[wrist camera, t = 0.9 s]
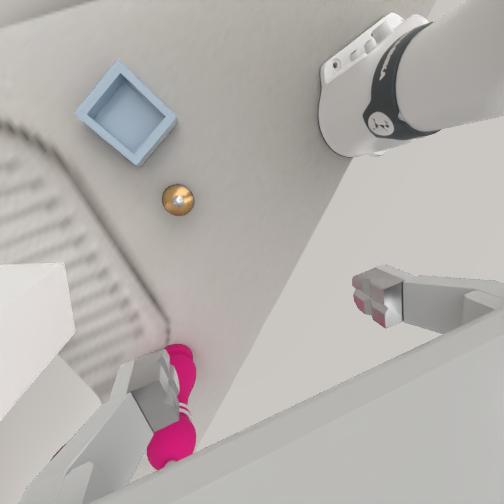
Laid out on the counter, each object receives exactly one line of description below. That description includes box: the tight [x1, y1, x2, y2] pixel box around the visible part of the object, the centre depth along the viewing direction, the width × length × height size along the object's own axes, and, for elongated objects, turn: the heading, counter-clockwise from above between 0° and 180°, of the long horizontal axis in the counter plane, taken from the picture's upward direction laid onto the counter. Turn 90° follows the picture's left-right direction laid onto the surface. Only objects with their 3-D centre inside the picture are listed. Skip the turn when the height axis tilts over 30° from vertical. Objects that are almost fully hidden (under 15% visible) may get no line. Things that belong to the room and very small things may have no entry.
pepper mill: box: [147, 344, 196, 470], centre depth 36 cm, size 7×7×20 cm
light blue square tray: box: [73, 59, 178, 167], centre depth 32 cm, size 8×8×4 cm
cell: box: [162, 184, 194, 216], centre depth 34 cm, size 4×4×9 cm
